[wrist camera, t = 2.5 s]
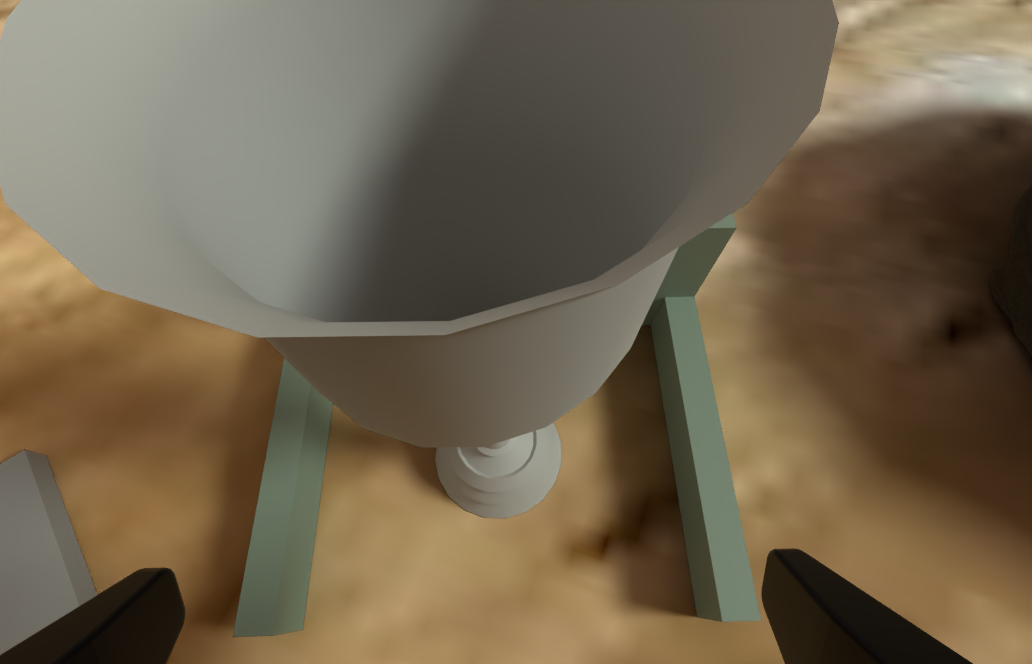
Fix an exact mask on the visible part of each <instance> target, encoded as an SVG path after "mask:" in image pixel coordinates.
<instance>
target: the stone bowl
mask: <svg viewBox="0 0 1032 664" xmlns="http://www.w3.org/2000/svg"><path fill="white" fill-rule="evenodd" d="M989 285H990V289H991V292H992V294H993V297H994V299H995V301H996V303H997V304H998V306H999V307H1000V309H1001V310H1002V311H1003V312H1005V313H1006V314H1007V315H1008V317H1009V318H1010V320H1011V322H1012V323H1013V327H1014V335H1015V336H1016V337H1017V338H1018V339H1019V340H1020V341H1021V343H1022V344H1023V345H1024V346H1025V347H1026V349H1027V350H1028V351H1029V354H1030V356H1031V358H1032V186H1031V187H1030V188H1029V189H1028V190H1027V191H1026V192H1025V193H1024V194H1023V196H1022V197H1021V199H1020V201H1019V203H1018V204H1017V206H1016V208H1015V210H1014V213H1013V230H1012V232H1011V247H1010V251H1009V254H1008V256H1007V257H1006V258H1005V259H1004V261H1003V262H1002V263H1001V264H1000V265H998V266H997V267H996V268H995V269H993V271H992V274H991V277H990V283H989Z"/></svg>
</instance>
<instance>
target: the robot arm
mask: <svg viewBox="0 0 1032 664" xmlns="http://www.w3.org/2000/svg"><path fill="white" fill-rule="evenodd" d="M762 602H763V606H764V609H765V612H766V615H767V617H768V620H769V623H770V625H771V628H772V630H773V633H774V636H775V638H776V641H777V644H778V646H779V649H780V652H781V654H782V657H783V660H784V662H785V664H973V663H971V662H970V661H968V660H967V659H965V658H964V657H962V656H961V655H959V654H958V653H956V652H955V651H953V650H951V649H950V648H948V647H947V646H945V645H944V644H942V643H941V642H939V641H938V640H936V639H935V638H933V637H932V636H930V635H929V634H927V633H926V632H924V631H923V630H921V629H920V628H918V627H917V626H915V625H914V624H912V623H911V622H909V621H908V620H906V619H905V618H903V617H902V616H900V615H899V614H897V613H896V612H894V611H893V610H891V609H890V608H888V607H887V606H885V605H883V604H882V603H880V602H879V601H877V600H876V599H874V598H873V597H871V596H870V595H868V594H867V593H865V592H864V591H862V590H861V589H859V588H858V587H856V586H855V585H853V584H852V583H850V582H849V581H847V580H846V579H844V578H843V577H841V576H840V575H838V574H837V573H835V572H834V571H832V570H831V569H829V568H828V567H826V566H825V565H823V564H822V563H820V562H819V561H817V560H816V559H814V558H812V557H811V556H809V555H808V554H806V553H805V552H803V551H801V550H799V549H794V548H792V549H774V550H771V551H770V552H769V554H768V557H767V562H766V568H765V573H764V579H763V585H762ZM184 620H185V606H184V603H183V600H182V596H181V593H180V590H179V587H178V583H177V580H176V577H175V574H174V572H173V571H172V570H171V569H169V568H144V569H140V570H138V571H136V572H134V573H132V574H131V575H129V576H127V577H126V578H124V579H123V580H121V581H119V582H118V583H116V584H114V585H113V586H111V587H110V588H108V589H106V590H105V591H103V592H101V593H100V594H98V595H97V596H95V597H93V598H92V599H90V600H88V601H87V602H85V603H84V604H82V605H80V606H79V607H77V608H75V609H74V610H72V611H71V612H69V613H67V614H66V615H64V616H62V617H61V618H59V619H58V620H56V621H54V622H53V623H51V624H49V625H48V626H46V627H45V628H43V629H41V630H40V631H38V632H36V633H35V634H33V635H32V636H30V637H28V638H27V639H25V640H23V641H22V642H20V643H19V644H17V645H15V646H14V647H12V648H11V649H9V650H7V651H6V652H4V653H2V654H1V655H0V664H166V663H167V661H168V659H169V656H170V654H171V652H172V650H173V647H174V645H175V643H176V641H177V638H178V636H179V634H180V632H181V629H182V627H183V624H184Z"/></svg>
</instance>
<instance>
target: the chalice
mask: <svg viewBox="0 0 1032 664" xmlns="http://www.w3.org/2000/svg"><path fill="white" fill-rule="evenodd" d="M838 24H839V22H838V19H837V15H836V12H835V9H834V5H833V2H832V0H21V2H20V3H19V4H18V5H17V6H16V8H15V9H14V10H13V11H12V13H11V14H10V15H9V16H8V17H7V19H6V23H5V26H4V29H3V32H2V36H1V39H0V186H1V190H2V194H3V198H4V201H5V204H6V205H7V206H8V207H9V208H10V209H11V210H12V211H13V212H15V213H16V214H17V215H18V216H19V217H20V218H21V219H22V220H24V221H25V222H26V223H27V224H28V225H29V226H30V227H31V228H32V229H34V230H35V231H36V232H37V233H38V234H39V235H40V236H41V237H43V238H44V239H45V240H46V241H47V242H48V243H49V244H50V245H51V246H53V247H54V248H55V249H56V250H57V251H58V252H59V253H60V254H61V255H63V256H64V257H65V258H66V259H67V260H68V261H69V262H70V263H72V264H73V265H74V266H75V267H76V268H77V269H78V270H79V271H80V272H82V273H83V274H84V275H85V276H86V277H87V278H88V279H89V280H90V281H92V282H93V283H94V284H95V285H96V286H97V287H98V288H99V289H102V290H106V291H109V292H112V293H115V294H119V295H122V296H125V297H128V298H131V299H135V300H138V301H141V302H144V303H148V304H151V305H154V306H157V307H160V308H164V309H167V310H170V311H173V312H176V313H180V314H183V315H186V316H189V317H193V318H196V319H199V320H202V321H205V322H209V323H212V324H215V325H218V326H222V327H225V328H228V329H231V330H234V331H238V332H241V333H244V334H247V335H250V336H254V337H257V338H264V339H265V340H266V341H267V342H268V343H269V344H270V345H271V346H272V347H273V348H274V349H275V350H276V351H277V352H278V353H280V354H281V355H282V356H283V357H284V358H285V359H286V360H287V361H288V362H289V363H290V364H291V365H292V366H293V367H294V368H295V369H296V370H297V371H298V372H299V373H300V374H301V375H302V376H303V377H304V378H305V379H306V380H307V381H308V382H309V383H310V384H311V385H312V386H313V387H314V388H316V389H317V390H318V391H319V392H320V393H321V394H322V395H323V396H324V397H326V398H327V399H328V400H329V401H330V402H332V403H333V404H334V405H335V406H336V407H338V408H339V409H340V410H341V411H343V412H344V413H345V414H346V415H347V416H349V417H350V418H351V419H352V420H353V421H355V422H356V423H357V424H358V425H359V426H361V427H362V428H363V429H366V430H369V431H372V432H375V433H378V434H381V435H384V436H387V437H390V438H393V439H396V440H400V441H403V442H406V443H409V444H412V445H415V446H418V447H421V448H430V447H436V455H435V462H436V467H437V472H438V477H439V480H440V482H441V484H442V485H443V487H444V489H445V490H446V492H447V494H448V496H449V497H450V498H451V499H452V500H454V501H455V502H456V503H457V504H458V505H459V506H461V507H462V508H463V509H464V510H466V511H468V512H471V513H473V514H476V515H479V516H481V517H484V518H508V517H511V516H515V515H518V514H521V513H525V512H526V511H528V510H529V509H531V508H532V507H533V506H535V505H536V504H538V503H539V502H540V501H542V500H543V499H544V497H545V496H546V495H547V493H548V492H549V490H550V489H551V488H552V486H553V485H554V484H555V481H556V478H557V475H558V472H559V469H560V466H561V442H560V439H559V436H558V433H557V430H556V427H555V425H554V423H553V422H554V421H556V420H557V419H559V418H560V417H562V416H563V415H565V414H566V413H568V412H569V411H570V410H572V409H573V408H575V407H576V406H578V405H579V404H581V403H582V402H583V401H585V400H586V399H588V398H589V397H591V396H592V395H594V394H595V393H596V392H597V391H598V390H599V388H600V387H601V386H602V385H603V383H604V382H605V381H606V379H607V378H608V377H609V376H610V374H611V373H612V372H613V370H614V369H615V368H616V367H617V365H618V364H619V363H620V361H621V360H622V359H623V358H624V356H625V355H626V354H627V352H628V351H629V350H630V348H631V346H632V344H633V342H634V340H635V338H636V336H637V334H638V332H639V330H640V327H641V325H642V323H643V321H644V319H645V317H646V315H647V313H648V311H649V309H650V307H651V304H652V302H653V300H654V298H655V296H656V294H657V292H658V290H659V288H660V286H661V283H662V281H663V279H664V277H665V275H666V273H667V271H668V269H669V267H670V265H671V262H672V260H673V258H674V256H675V254H676V252H677V250H678V248H679V246H681V245H683V244H684V243H686V242H687V241H689V240H690V239H692V238H694V237H695V236H697V235H698V234H700V233H701V232H703V231H705V230H706V229H708V228H709V227H711V226H713V225H714V224H716V223H717V222H719V221H720V220H722V219H724V218H725V217H727V216H728V215H730V214H731V213H733V212H735V211H736V210H738V209H739V208H741V207H742V206H744V205H746V204H747V203H748V202H749V201H750V200H751V199H752V197H753V196H754V195H755V193H756V192H757V191H758V190H759V188H760V187H761V186H762V184H763V183H764V182H765V181H766V179H767V178H768V177H769V175H770V174H771V173H772V172H773V170H774V169H775V168H776V166H777V165H778V164H779V162H780V161H781V160H782V159H783V157H784V156H785V155H786V153H787V152H788V151H789V150H790V148H791V147H792V146H793V144H794V143H795V142H796V141H797V139H798V138H799V137H800V135H801V134H802V133H803V132H804V130H805V129H806V128H807V126H808V125H809V124H810V123H811V121H812V120H813V119H814V117H815V116H816V115H817V114H818V112H819V111H820V106H821V102H822V97H823V93H824V88H825V84H826V79H827V74H828V70H829V65H830V61H831V56H832V52H833V47H834V43H835V38H836V33H837V29H838Z"/></svg>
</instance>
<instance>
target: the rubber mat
mask: <svg viewBox="0 0 1032 664" xmlns="http://www.w3.org/2000/svg"><path fill="white" fill-rule="evenodd" d="M95 596H97V593H96V590H95V587H94V585H93V582H92V579H91V577H90V574H89V571H88V568H87V566H86V563H85V560H84V558H83V555H82V552H81V549H80V547H79V544H78V541H77V538H76V536H75V533H74V530H73V528H72V525H71V522H70V519H69V517H68V514H67V511H66V509H65V506H64V503H63V500H62V498H61V495H60V492H59V489H58V487H57V484H56V481H55V479H54V476H53V473H52V470H51V468H50V465H49V462H48V459H47V457H46V455H43V454H39V453H36V452H32V451H29V450H25V449H24V450H23V451H21V452H19V453H18V454H16V455H14V456H12V457H11V458H9V459H7V460H6V461H4V462H2V463H0V655H1V654H2V653H4V652H6V651H7V650H9V649H11V648H12V647H14V646H15V645H17V644H19V643H20V642H22V641H23V640H25V639H27V638H28V637H30V636H32V635H33V634H35V633H36V632H38V631H40V630H41V629H43V628H45V627H46V626H48V625H49V624H51V623H53V622H54V621H56V620H58V619H59V618H61V617H62V616H64V615H66V614H67V613H69V612H71V611H72V610H74V609H75V608H77V607H79V606H80V605H82V604H84V603H85V602H87V601H88V600H90V599H92V598H93V597H95Z"/></svg>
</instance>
